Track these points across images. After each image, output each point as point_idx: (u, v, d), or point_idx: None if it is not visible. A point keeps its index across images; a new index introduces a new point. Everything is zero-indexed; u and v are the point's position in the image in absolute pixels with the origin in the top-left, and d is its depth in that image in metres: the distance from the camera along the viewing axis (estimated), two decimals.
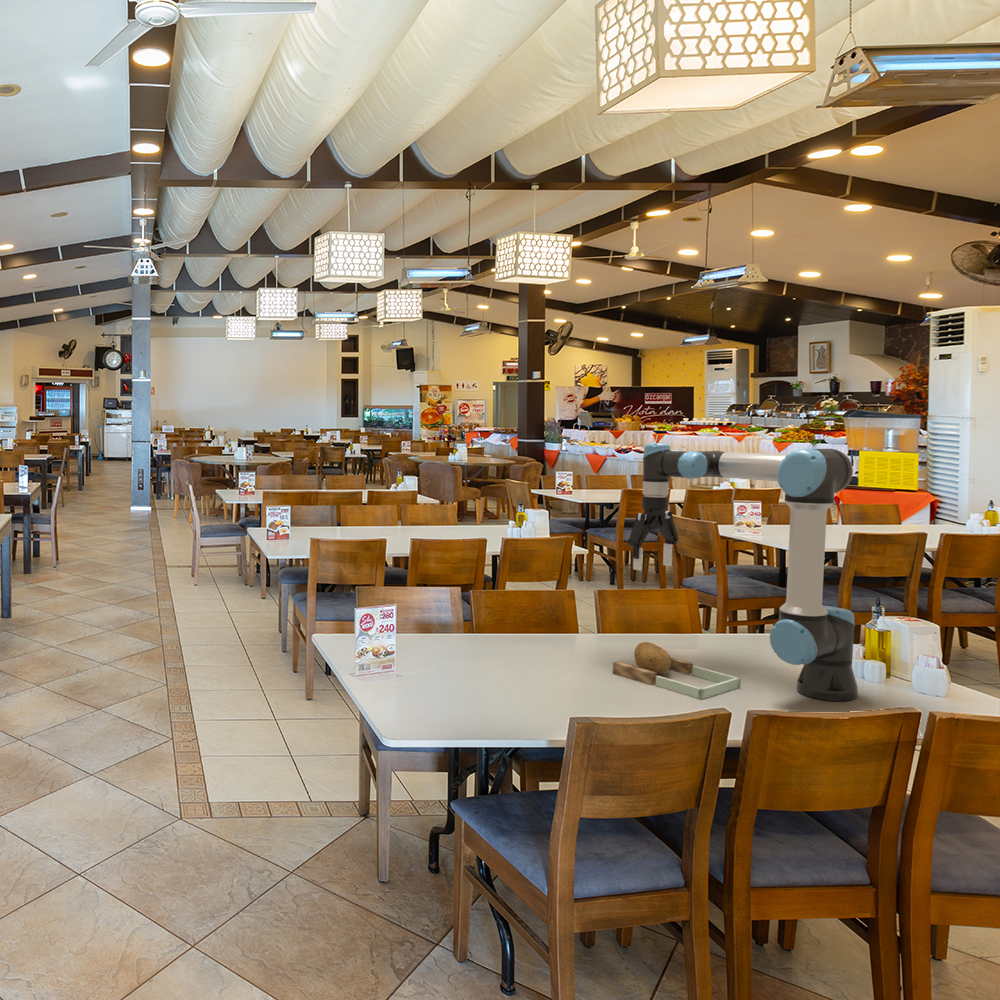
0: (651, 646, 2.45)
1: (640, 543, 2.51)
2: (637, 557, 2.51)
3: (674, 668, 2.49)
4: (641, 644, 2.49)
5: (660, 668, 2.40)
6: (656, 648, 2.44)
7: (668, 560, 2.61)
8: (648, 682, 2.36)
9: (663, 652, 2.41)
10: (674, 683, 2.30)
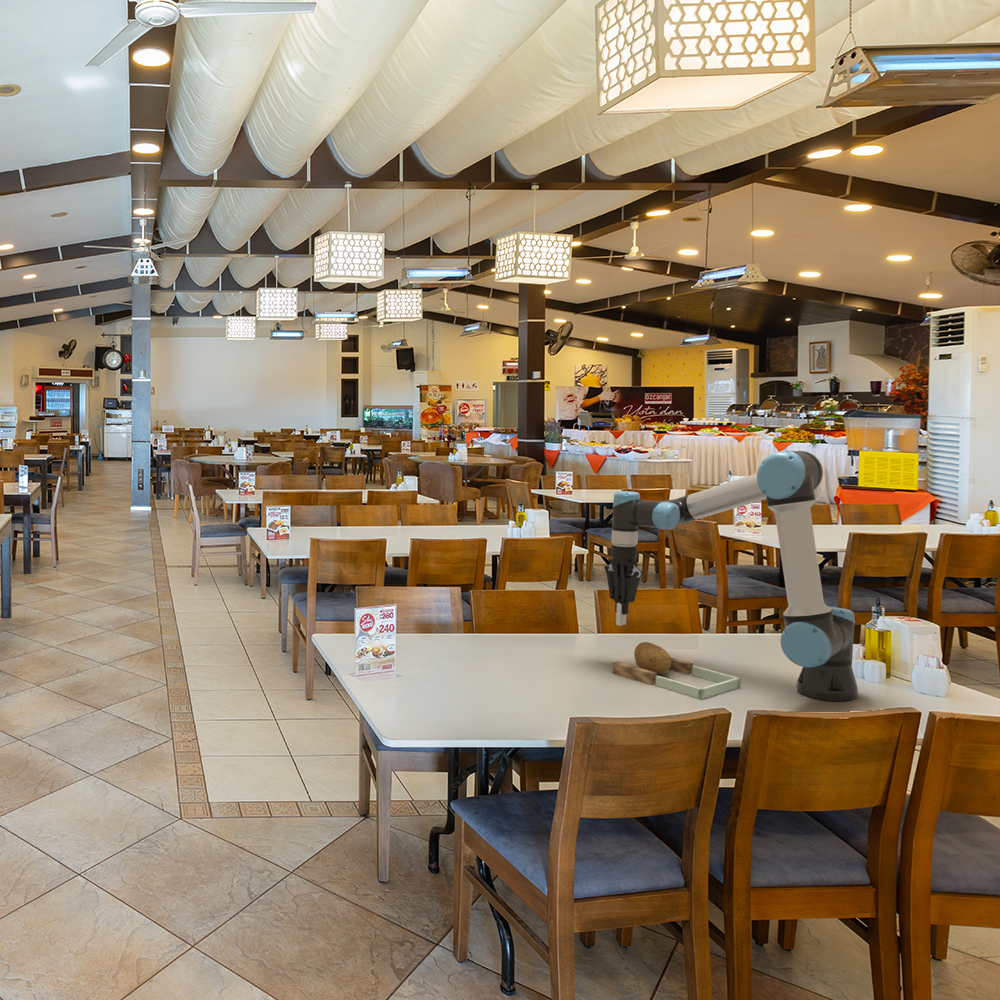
0: (651, 646, 2.45)
1: (615, 597, 2.54)
2: (616, 611, 2.55)
3: (674, 668, 2.49)
4: (641, 644, 2.49)
5: (660, 668, 2.40)
6: (656, 648, 2.44)
7: None
8: (648, 682, 2.36)
9: (663, 652, 2.41)
10: (674, 683, 2.30)
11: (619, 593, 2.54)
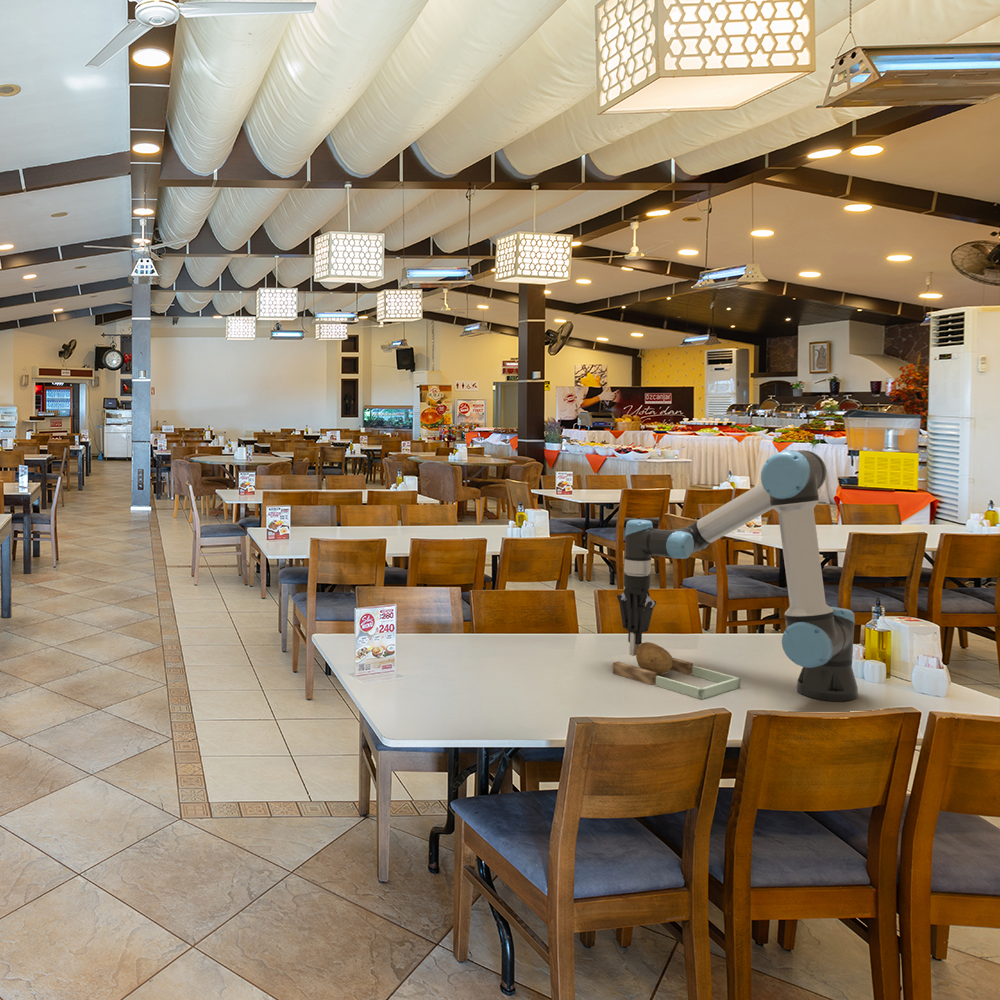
0: (653, 646, 2.45)
1: (628, 627, 2.51)
2: (629, 641, 2.52)
3: (674, 668, 2.49)
4: (643, 644, 2.48)
5: (661, 669, 2.39)
6: (657, 648, 2.43)
7: None
8: (648, 682, 2.36)
9: (664, 652, 2.41)
10: (674, 683, 2.30)
11: (632, 623, 2.51)
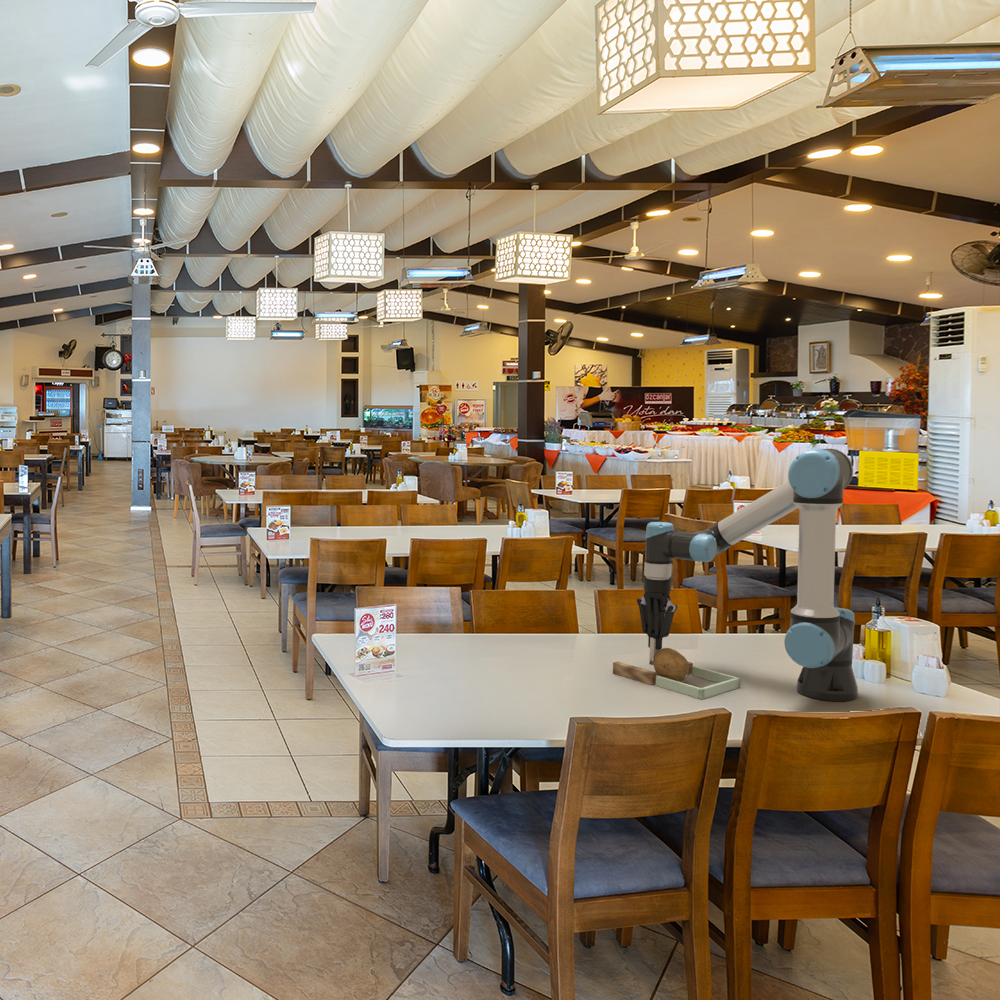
0: (669, 652, 2.39)
1: (649, 631, 2.45)
2: (649, 646, 2.46)
3: None
4: (661, 650, 2.43)
5: (673, 676, 2.33)
6: (673, 654, 2.37)
7: None
8: (648, 682, 2.36)
9: (678, 659, 2.34)
10: (674, 683, 2.30)
11: (652, 627, 2.45)
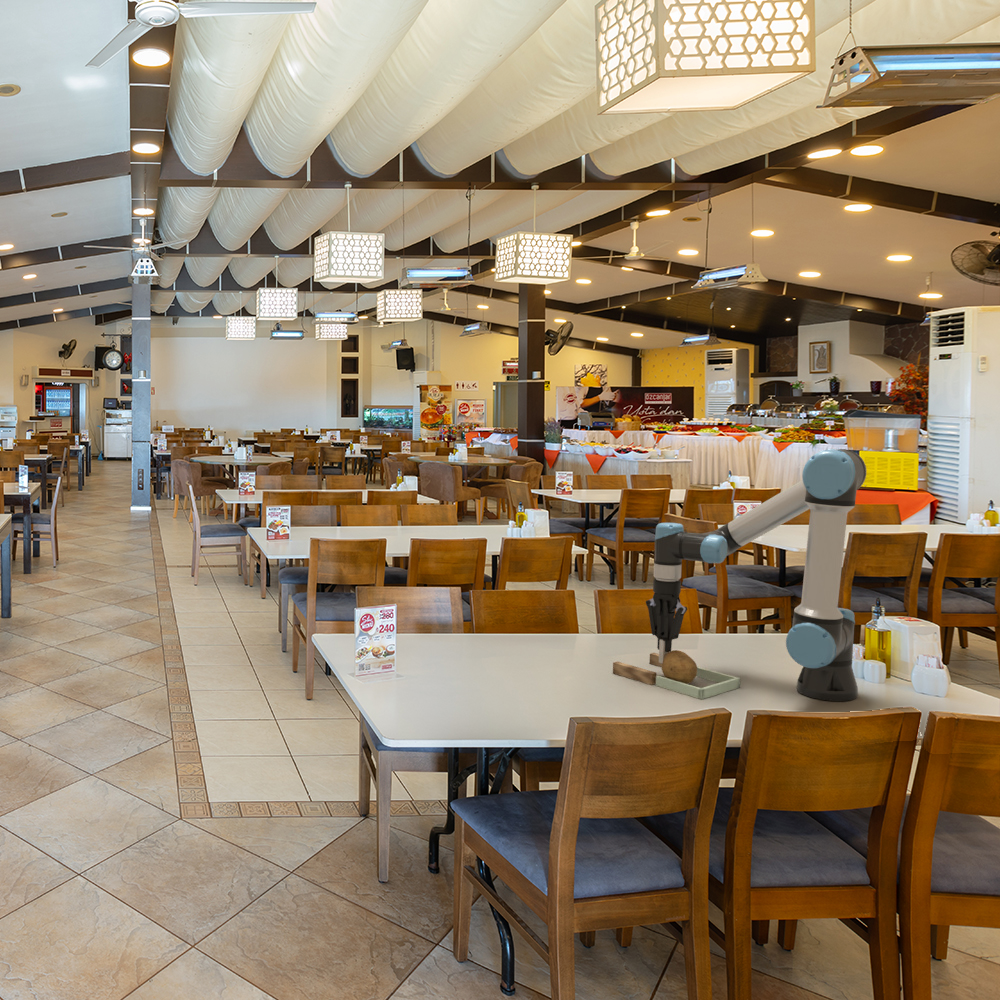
0: (677, 655, 2.36)
1: (658, 633, 2.43)
2: (658, 648, 2.43)
3: None
4: (670, 652, 2.40)
5: (680, 679, 2.31)
6: (681, 657, 2.34)
7: None
8: (648, 682, 2.36)
9: (685, 662, 2.32)
10: (674, 683, 2.30)
11: (662, 629, 2.43)
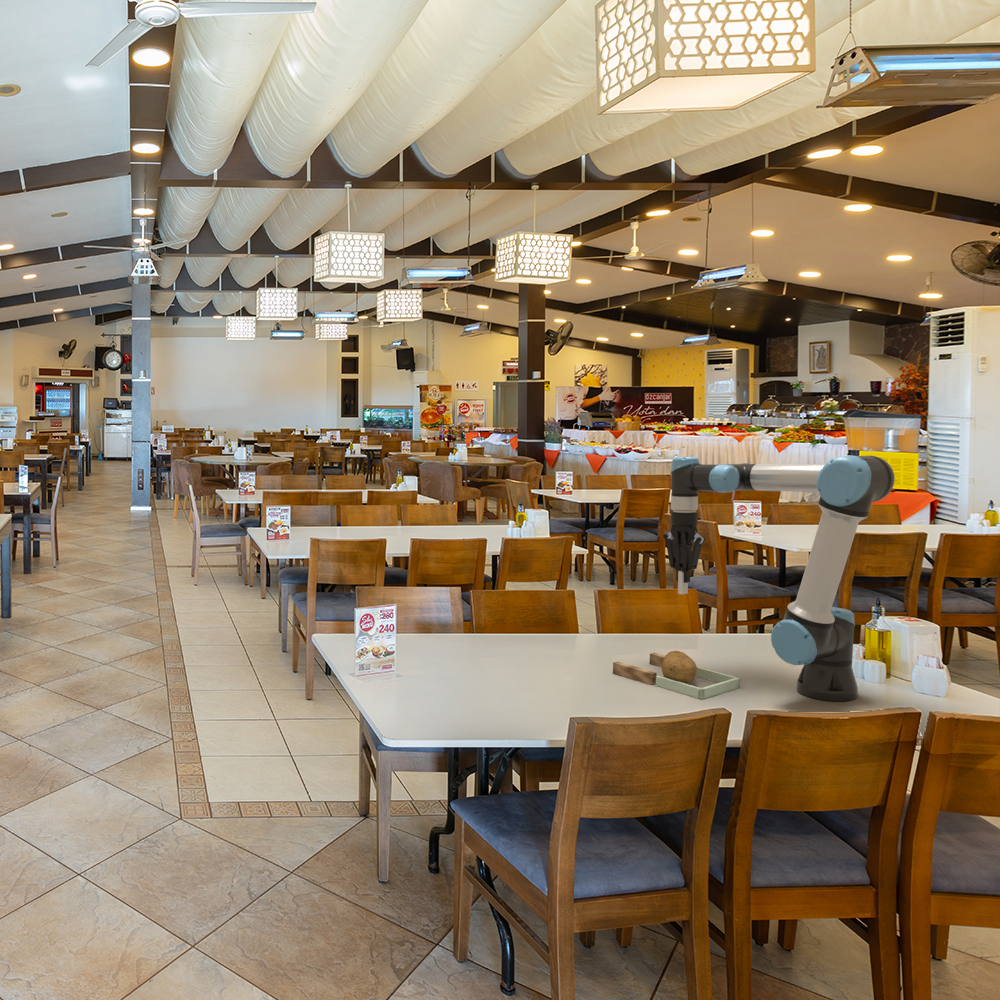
0: (677, 655, 2.36)
1: (676, 565, 2.48)
2: (677, 580, 2.49)
3: None
4: (670, 652, 2.40)
5: (680, 679, 2.31)
6: (680, 657, 2.34)
7: None
8: (648, 682, 2.36)
9: (685, 662, 2.32)
10: (674, 683, 2.30)
11: (680, 561, 2.48)
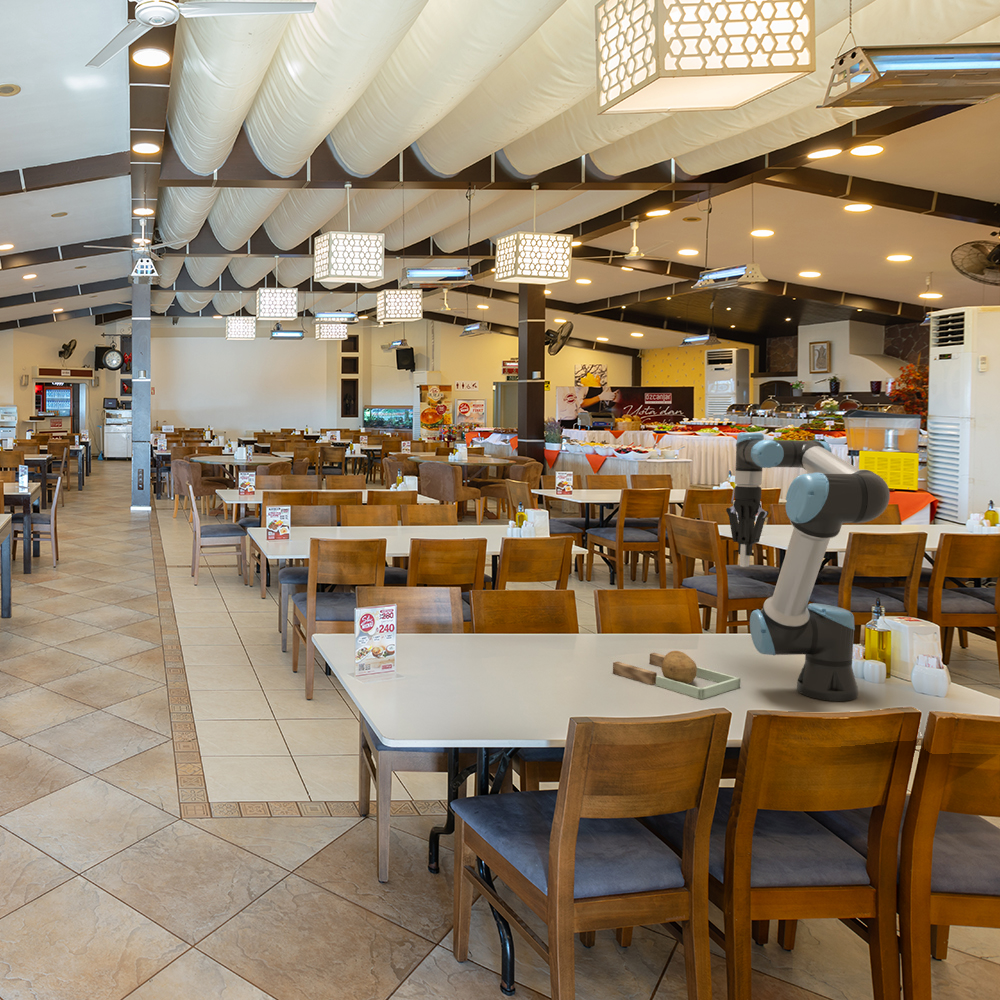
0: (677, 655, 2.36)
1: (739, 538, 2.54)
2: (739, 553, 2.55)
3: None
4: (670, 652, 2.40)
5: (680, 679, 2.31)
6: (680, 657, 2.34)
7: None
8: (648, 682, 2.36)
9: (685, 662, 2.32)
10: (674, 683, 2.30)
11: (743, 534, 2.54)
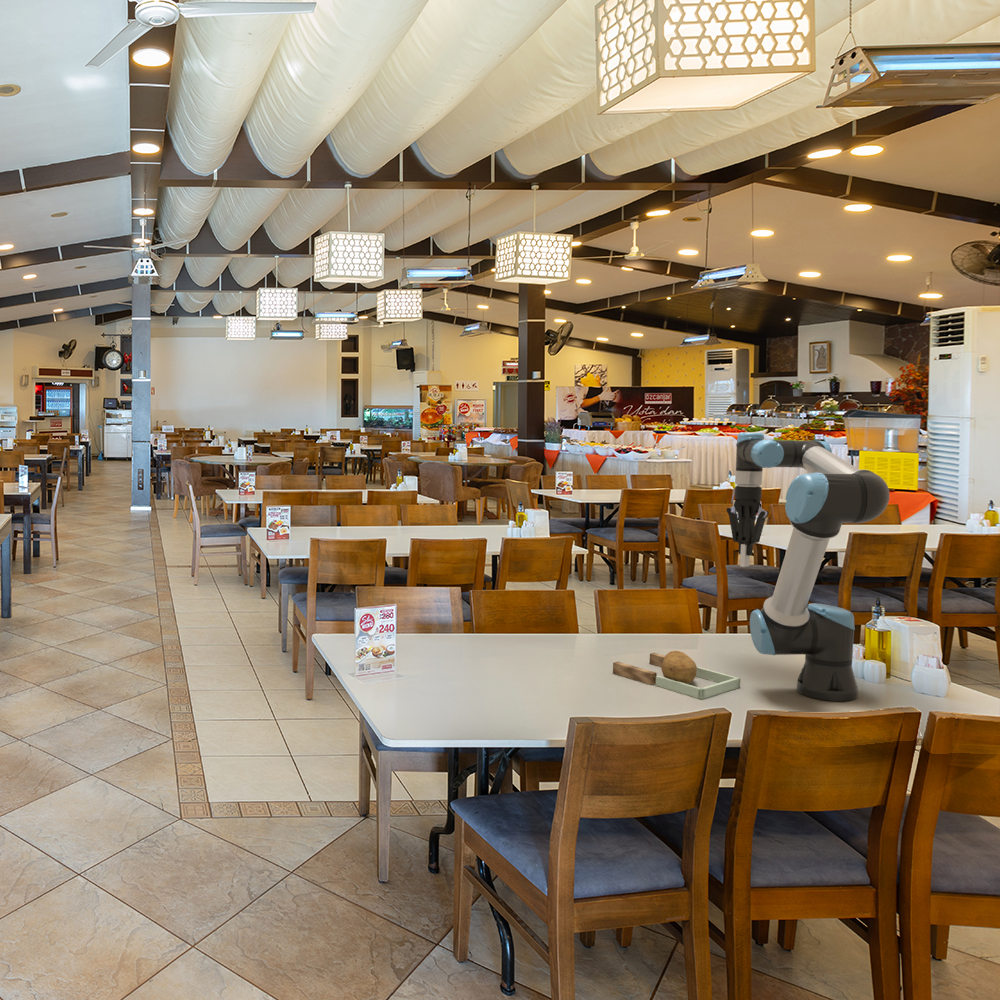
0: (677, 655, 2.36)
1: (739, 538, 2.54)
2: (739, 553, 2.55)
3: None
4: (670, 652, 2.40)
5: (680, 679, 2.31)
6: (680, 657, 2.34)
7: None
8: (648, 682, 2.36)
9: (685, 662, 2.32)
10: (674, 683, 2.30)
11: (743, 534, 2.54)
